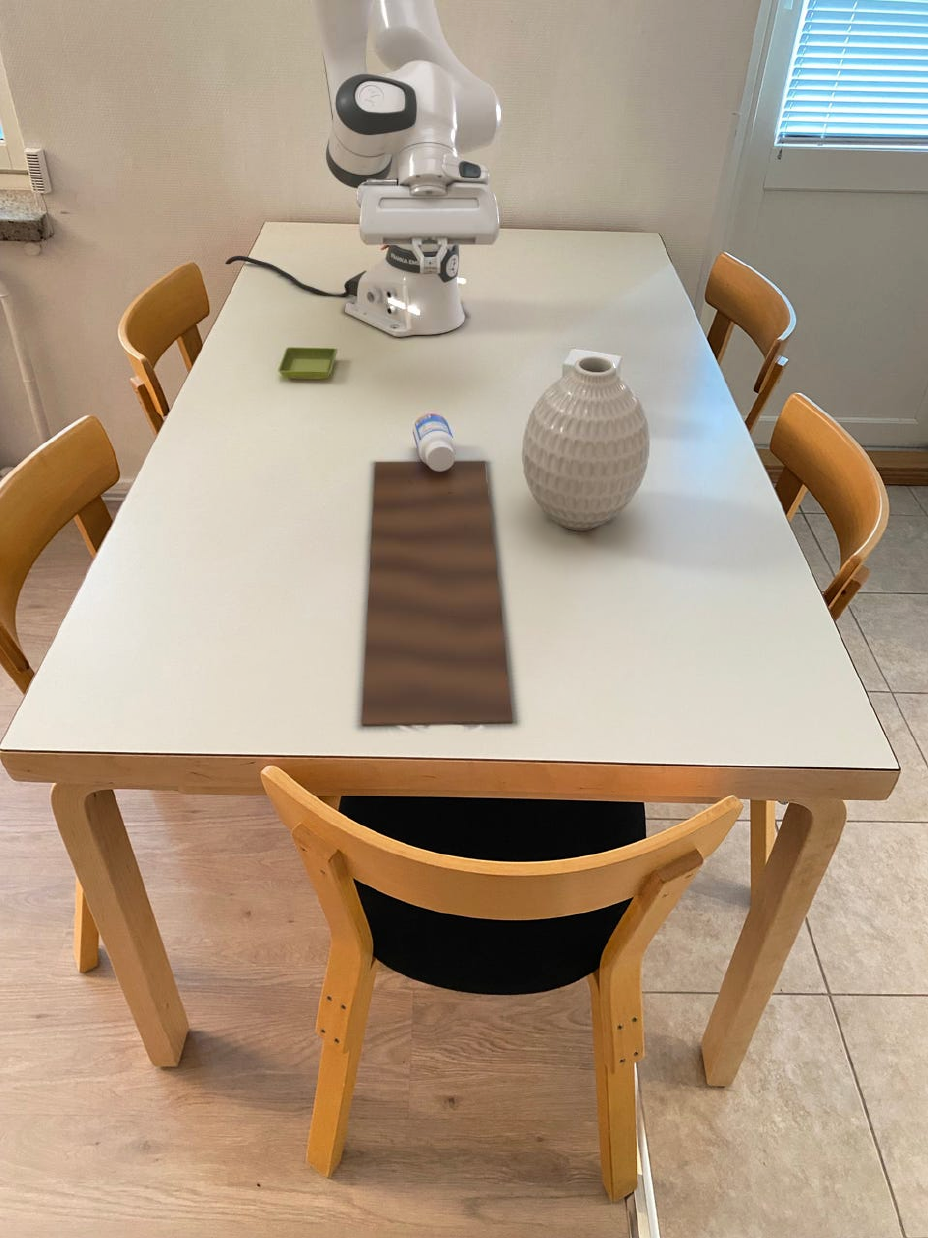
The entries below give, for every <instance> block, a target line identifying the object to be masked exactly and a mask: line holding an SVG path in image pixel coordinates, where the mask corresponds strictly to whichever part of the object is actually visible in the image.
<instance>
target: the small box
mask: <svg viewBox="0 0 928 1238" xmlns="http://www.w3.org/2000/svg"><path fill="white" fill-rule="evenodd" d="M591 356H595V357H602V358H605V359H608V360H610V361H611V362H612V363H613V364H614V365H615V367H616V373H617V375H618V376H619V377H620V378H621V372H622V363H623V356H622V355H615V354H610V353H603V352H597V351H590V350H584V349H578V348H572V349H571V350H570V352H569V353H568V355H567V356H566V358H565V360H564V361H563V363H562V370H561V372H562V373H561V378H562V377H563V376H565V375H566V374H567V373H569V372H570V371H571V370H573V368H574V365H575V362H576V361H578V360H579V359H581V358H584V357H591Z"/></svg>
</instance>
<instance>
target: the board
mask: <svg viewBox="0 0 928 1238" xmlns="http://www.w3.org/2000/svg"><path fill="white" fill-rule="evenodd" d="M370 540H371V541H370V555H369V558H370V559H369V575H368V576H369V577H368V578H369V579H368V592H367V593H368V595H367V615H366V632H365V633H366V634H365V652H364V653H365V654H364V656H365V657H364V669H363V670H364V673H363V687H362V688H363V691H362V692H363V693H362V707H361V708H362V710H361V726H391V725H392V726H393V725H394V726H395V725H396V726H397V725H399V726H400V725H446V724H451V725H452V724H455V725H456V724H500V723H503V724H504V723H513V722H514V718H513V708H512V697H511V689H510V688H511V687H510V679H509V671H508V670H509V669H508V662H507V652H506V643H505V641H506V640H505V633H504V623H503V615H502V614H503V613H502V606H501V605H502V604H501V595H500V586H499V577H498V565H497V557H496V547H495V539H494V530H493V520H492V509H491V501H490V492H489V482H488V472H487V462H486V461H485V460H471V461H470V460H469V461H465V460H463V461H461V460H460V461H459V460H458V461H457V460H456V461H455V460H454V463H453V465H452V466H451V467H450V468H449V469H447V470H445V471H441V472H439V471H434V470H432V469H431V468H430V467H429V466H428V465H427V464H425V463H424V462H423V461H375V462H374V480H373V499H372V517H371V536H370Z"/></svg>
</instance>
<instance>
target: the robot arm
mask: <svg viewBox="0 0 928 1238" xmlns="http://www.w3.org/2000/svg"><path fill="white" fill-rule="evenodd" d="M309 2H310V6H311V10H312V14H313V18H314V23H315V27H316V31H317V35H318V40H319V44H320V47H321V52H322V58H323V64H324V71H325V78H326V85H327V93H328V98H329V105H330V112H331V113H330V114H331V127H330V133H329V138H328V141H327V145H326V150H325V160H326V165H327V167H328V169H329V171H330V172H331V174H332V175H333V177H334V178H335V179H337V181H339V182H340V183H342V184H343V185H346V186H347V187H350V188H353V189H356V203H357V205H358V207H359V208H360V210H359V221H358V222H359V223H358V232H359V239H360V240H361V241H362V243H364V245H365V246H381V248H380V250H381V251H384V250H386V249H387V248H388V249H387V251H386V254H385V257H384V258H382V259H381V260H380V261H378V262H377V263H376V264H374V265H373V266H372V267H370V268H368V270H363V271H362V272H360V273H358V274H356V275H355V276H353V277H351V278H349V279H348V280H346V281H345V283H344V290H345V291H344V292H343V293H339V294H333V293H329V292H325V291H323V290H320V289H319V288H315V287H314V286H310V285H307V284H304V283H302V282H300V281H299V280H298V279H297V278H295V277H294V276H293V275H291V274H290V273H288V272H287V271H284V270H283V269H281V268H280V267H278V266H276V265H274V264H272V263H269V262H266V261H262V260H259V259H255V258H252V257H250V256H249V257H248V256H244V255H235V256H232V257H230V258H228V259H227V260H226V261H225V263H224V264H225V265H231V264H232V263H234V262H238V261H242V262H247V263H250V264H254V265H256V266H260V267H263V268H266V269H269V270H271V271H274V272H276V273H277V274H279V275H281V276H282V277H284V278H286V279H287V280H289V281H290V282H291V283H293V284H294V285H295V286H297V287H298V288H300V289H302V290H304V291H307V292H310V293H312V294H315V295H318V296H322V297H334V298H335V297H336V298H347V297H348V296H352V297H351V298H350V299H349V300H348V301H346V304H345V308H344V312H345V313H346V314H348V315H350V316H351V317H353V318H356V319H358V320H361V321H362V322H364V323H366V324H369V325H370V326H373V327H375V328H377V329H379V330H380V331H383V332H385V333H387V334H389V335H390V336H393V337H399V338H401V337H409V336H415V335H418V336H421V335H422V336H423V335H438V334H444V333H447V332H450V331H451V332H452V331H453V330H455V329H457V328H459V327H460V326H462V325H463V323H464V322H465V319H466V316H465V313H464V309H463V305H462V301H461V300H462V299H461V295H460V288H459V287H460V286H459V283H460V284H466V279H465V278H460V277H459V276H458V275H459V269H460V268H459V265H460V246H492V245H495V243H496V241H497V240H498V239H499V235H500V217H499V210H498V209H499V208H498V204H497V199H496V195H495V192H494V190H493V188H491V186H490V172H489V169H488V167H487V166H485V165H483V164H480V163H477V162H473V161H471V160H468V159H465V158H462V157H459V155H464V154H468V153H472V152H474V151H477V150H480V149H484V148H486V147H489V146H491V145H492V144H493V142H494V141H495V139H496V138H497V136H498V133H499V131H500V127H501V123H502V107H501V102H500V100H499V96H498V95H497V93H496V91H495V89H494V88H493V87H492V86H491V84H490V83H488V82H486V81H485V80H483V79H481V78H479V76H477V75H475V74H474V73H473V72H471V71H470V70H469V69H468V68H467V67H466V66H465V65H464V64H463V63H462V62H461V61H460V60H459V59H458V57H457V56H456V55H455V53H454V52H453V50H452V49H451V47H450V46H449V44H448V42H447V40H446V37H445V35H444V33H443V29H442V26H441V23H440V19H439V16H438V11H437V6H436V3H435V0H309ZM369 32H370V38H371V42H372V47H373V50H374V53H375V54H376V56H377V58H378V59H379V61H380V62H381V63H382V64H383V65H384V66H385V67H386V68H388V69H389V70H390V71H392V72H388V73H383V74H371V73H368V69H367V44H368V43H367V42H368V35H369Z"/></svg>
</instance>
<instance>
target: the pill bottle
mask: <svg viewBox="0 0 928 1238" xmlns="http://www.w3.org/2000/svg"><path fill="white" fill-rule="evenodd" d="M412 435H413V439H414V442H415V445H416V449H417V452H418V456H419V457H420V459H421V462H424V463H425V464H427V465H428V466H429V467H430V468H431V469H432V470H434V471H439V472H441V471H445V470H447V469H449V468H450V467H451V466H452V465H453V463H454V461H455V459H456V458H455V457H456V452H457V446H456V441H455V439H454V436H453V434H452V431H451V429H450V426H449V423H448V421H447V419H446V418H445V417H444V416H443V415H441V414H439V413H436V412H427V413H424V414H422V415H420V416H418V418H417V419H416V420H415V422H414V423H413V426H412Z"/></svg>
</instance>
